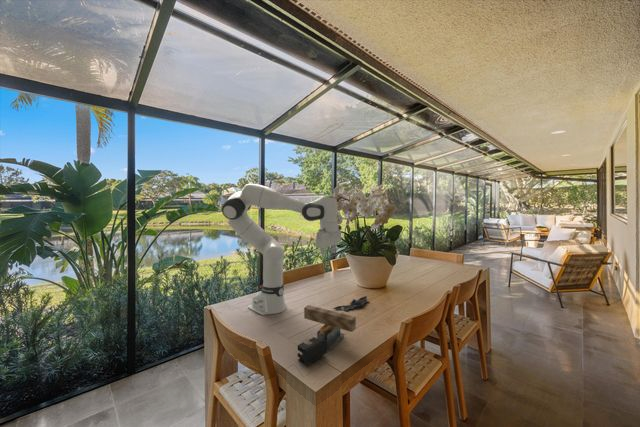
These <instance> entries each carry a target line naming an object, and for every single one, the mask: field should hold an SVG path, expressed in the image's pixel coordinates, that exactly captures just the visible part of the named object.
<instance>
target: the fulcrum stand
mask: <svg viewBox="0 0 640 427" xmlns="http://www.w3.org/2000/svg"><path fill="white" fill-rule="evenodd" d="M344 336H345V333H343V332H341V329H340V328H336V327H333V326H329V325H326V324H323V325H322V326H321V327H320V328H319V330H318V331H317V332H316V339H318V340H321V339H323V340H324V341H325V342H326V344H327V351H332V349H334V347H335V346H337V345H338V343H339V342H340V341H342V339H344V338H345V337H344Z"/></svg>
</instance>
